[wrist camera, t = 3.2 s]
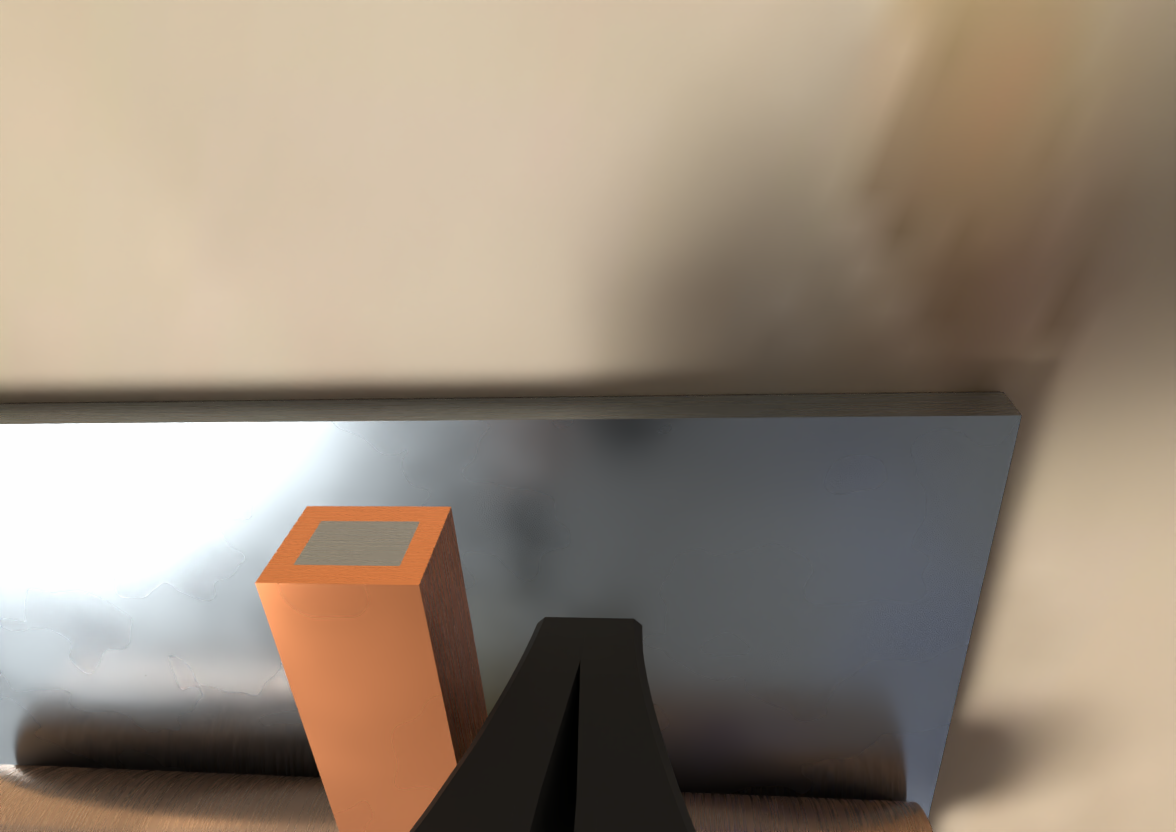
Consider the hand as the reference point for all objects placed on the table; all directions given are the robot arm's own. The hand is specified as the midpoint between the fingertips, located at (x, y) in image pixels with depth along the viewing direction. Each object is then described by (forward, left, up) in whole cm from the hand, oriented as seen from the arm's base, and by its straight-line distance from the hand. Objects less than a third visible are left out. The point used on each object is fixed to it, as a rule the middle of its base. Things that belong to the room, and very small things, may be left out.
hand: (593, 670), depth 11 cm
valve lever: (+2, +3, 0) cm, 4 cm away
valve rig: (+4, +6, -4) cm, 9 cm away
